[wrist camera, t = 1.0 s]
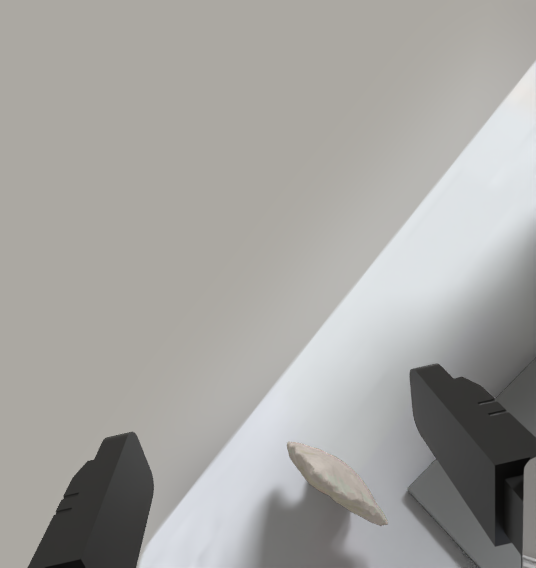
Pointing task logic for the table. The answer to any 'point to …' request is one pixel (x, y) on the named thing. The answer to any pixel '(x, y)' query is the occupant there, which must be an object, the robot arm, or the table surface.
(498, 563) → the mat
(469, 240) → the table surface
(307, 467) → the arrowhead
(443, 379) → the robot arm
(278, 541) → the table surface
